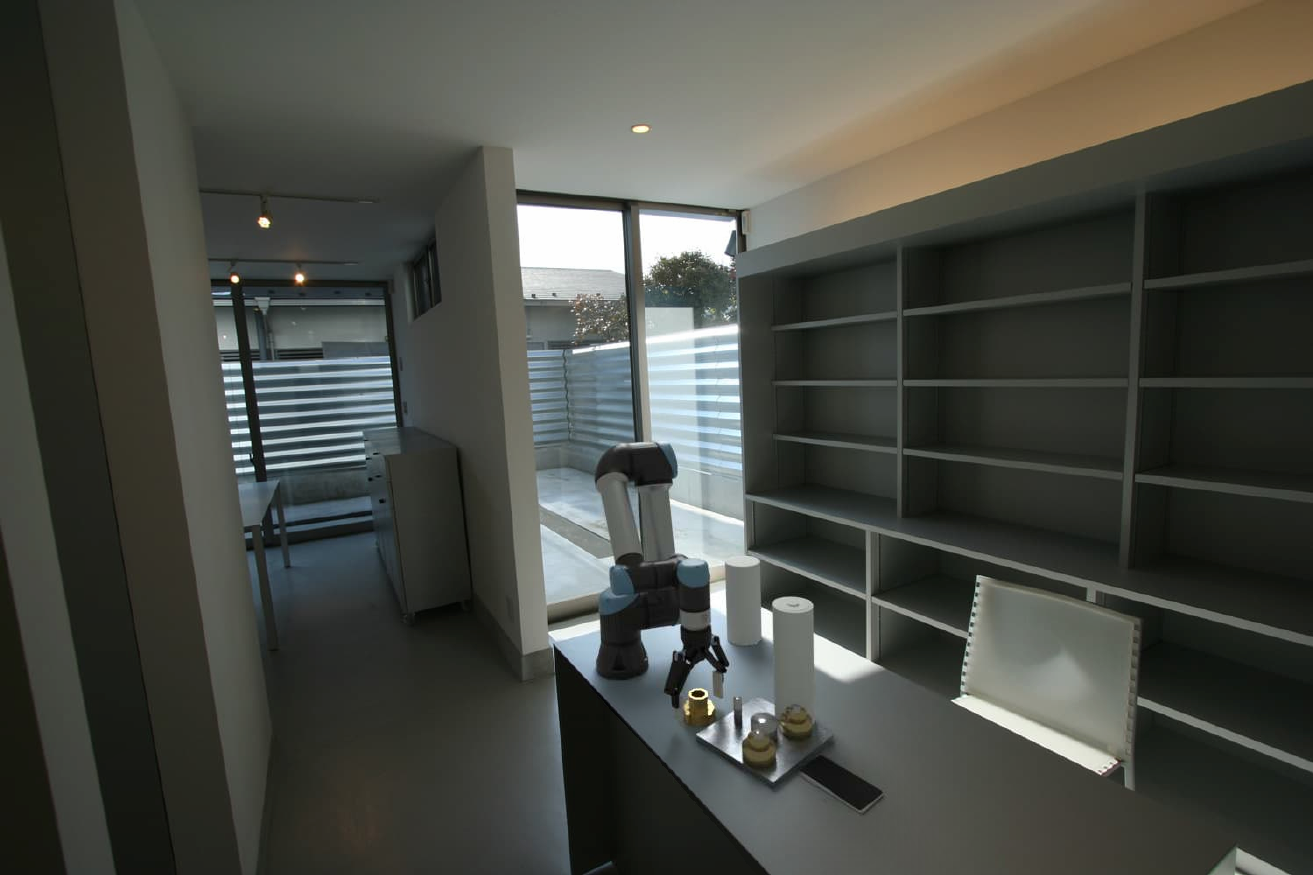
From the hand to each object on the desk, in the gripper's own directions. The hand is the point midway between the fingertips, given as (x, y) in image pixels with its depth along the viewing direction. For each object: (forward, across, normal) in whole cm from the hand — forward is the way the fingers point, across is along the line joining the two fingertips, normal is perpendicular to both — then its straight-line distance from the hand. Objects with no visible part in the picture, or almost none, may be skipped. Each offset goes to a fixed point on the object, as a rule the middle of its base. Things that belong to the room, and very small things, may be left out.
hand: (699, 707), depth 145 cm
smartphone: (+4, +4, -36) cm, 36 cm away
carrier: (+3, +4, -17) cm, 17 cm away
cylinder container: (+3, +16, -17) cm, 23 cm away
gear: (+3, 0, 0) cm, 3 cm away
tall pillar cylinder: (+2, +40, +20) cm, 45 cm away
